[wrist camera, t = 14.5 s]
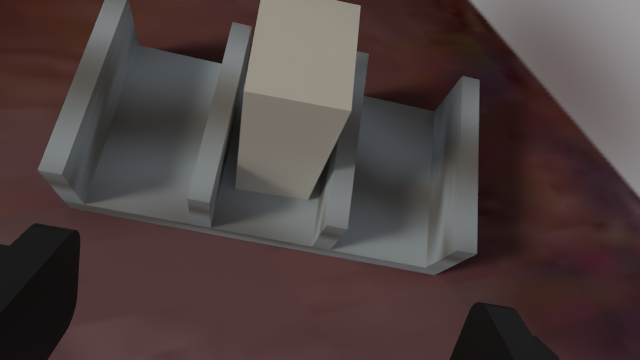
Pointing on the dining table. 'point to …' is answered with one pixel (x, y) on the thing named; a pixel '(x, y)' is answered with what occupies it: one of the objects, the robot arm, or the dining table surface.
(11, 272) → the robot arm
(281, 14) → the clay bar
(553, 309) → the dining table surface
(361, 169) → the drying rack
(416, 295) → the dining table surface
